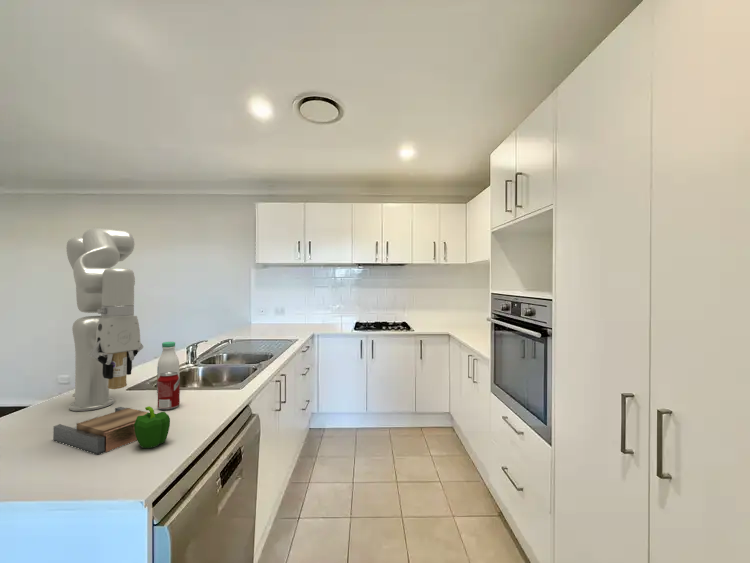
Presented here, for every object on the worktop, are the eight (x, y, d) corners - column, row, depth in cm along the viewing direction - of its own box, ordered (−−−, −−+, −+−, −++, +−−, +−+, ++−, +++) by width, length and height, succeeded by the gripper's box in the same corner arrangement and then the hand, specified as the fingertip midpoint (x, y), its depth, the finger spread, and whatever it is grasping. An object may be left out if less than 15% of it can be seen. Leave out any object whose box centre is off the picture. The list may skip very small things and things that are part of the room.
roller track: (53, 440, 103) (53, 422, 103) (120, 419, 120) (120, 403, 120) (98, 455, 95) (98, 435, 95) (163, 429, 111) (163, 413, 111)
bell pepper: (173, 445, 101) (173, 408, 101) (137, 454, 96) (138, 415, 96) (165, 435, 108) (166, 400, 108) (131, 443, 102) (132, 406, 102)
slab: (76, 432, 102) (76, 423, 102) (128, 415, 115) (128, 408, 115) (103, 440, 97) (103, 431, 97) (154, 422, 110) (154, 413, 110)
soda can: (169, 411, 127) (170, 376, 127) (152, 410, 128) (153, 375, 128) (183, 405, 134) (184, 371, 134) (167, 403, 135) (167, 370, 135)
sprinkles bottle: (104, 389, 104) (104, 341, 104) (112, 385, 108) (113, 338, 108) (122, 389, 104) (122, 341, 104) (130, 384, 109) (130, 338, 109)
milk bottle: (183, 391, 151) (184, 341, 151) (167, 396, 143) (167, 344, 143) (169, 389, 153) (169, 340, 153) (152, 394, 146) (152, 343, 146)
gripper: (93, 314, 97) (93, 385, 97) (155, 310, 112) (154, 371, 112) (76, 313, 100) (76, 381, 100) (138, 309, 115) (138, 368, 115)
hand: (117, 375), depth 106 cm, fingers closed on sprinkles bottle, 4 cm apart
